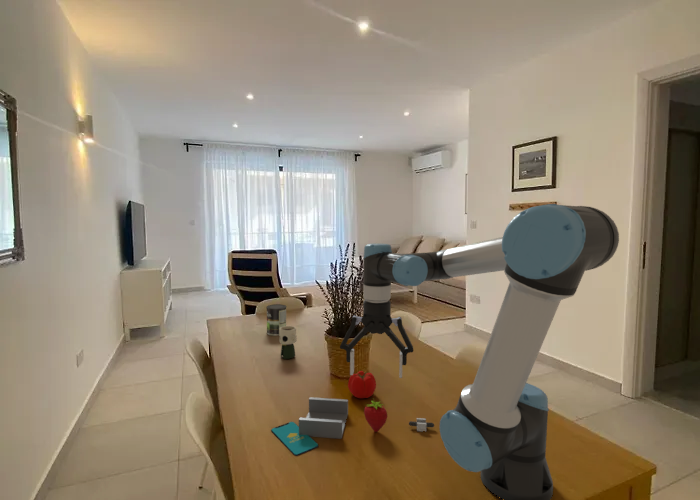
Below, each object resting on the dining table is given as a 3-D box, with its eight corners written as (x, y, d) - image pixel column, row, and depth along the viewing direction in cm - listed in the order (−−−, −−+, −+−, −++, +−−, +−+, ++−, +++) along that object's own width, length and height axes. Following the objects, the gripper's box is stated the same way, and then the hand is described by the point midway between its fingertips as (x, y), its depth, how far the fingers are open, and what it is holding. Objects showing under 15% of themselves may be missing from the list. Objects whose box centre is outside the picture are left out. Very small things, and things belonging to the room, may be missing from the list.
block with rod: (434, 432, 109) (434, 424, 108) (408, 430, 110) (408, 423, 109) (433, 426, 112) (433, 419, 112) (408, 424, 113) (408, 417, 113)
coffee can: (269, 336, 195) (268, 309, 194) (264, 331, 204) (264, 305, 203) (289, 334, 199) (288, 307, 198) (283, 329, 209) (283, 303, 208)
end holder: (341, 438, 105) (341, 422, 105) (298, 435, 107) (298, 419, 106) (347, 414, 119) (348, 399, 118) (309, 411, 120) (309, 397, 120)
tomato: (377, 391, 134) (378, 370, 134) (372, 403, 126) (372, 380, 125) (351, 388, 137) (352, 367, 136) (344, 399, 128) (344, 377, 128)
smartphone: (295, 454, 97) (270, 428, 109) (295, 457, 97) (270, 431, 110) (319, 445, 102) (292, 420, 114) (319, 448, 102) (292, 423, 114)
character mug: (273, 356, 167) (273, 327, 166) (286, 352, 173) (286, 324, 171) (289, 363, 160) (289, 332, 159) (302, 358, 165) (302, 328, 164)
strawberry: (375, 441, 104) (375, 406, 103) (359, 429, 110) (359, 395, 109) (392, 434, 107) (392, 400, 107) (375, 422, 114) (375, 390, 113)
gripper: (422, 298, 108) (420, 371, 110) (334, 295, 111) (334, 366, 113) (423, 304, 100) (422, 382, 102) (329, 301, 104) (329, 377, 105)
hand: (376, 374), depth 108 cm, fingers open, 13 cm apart
